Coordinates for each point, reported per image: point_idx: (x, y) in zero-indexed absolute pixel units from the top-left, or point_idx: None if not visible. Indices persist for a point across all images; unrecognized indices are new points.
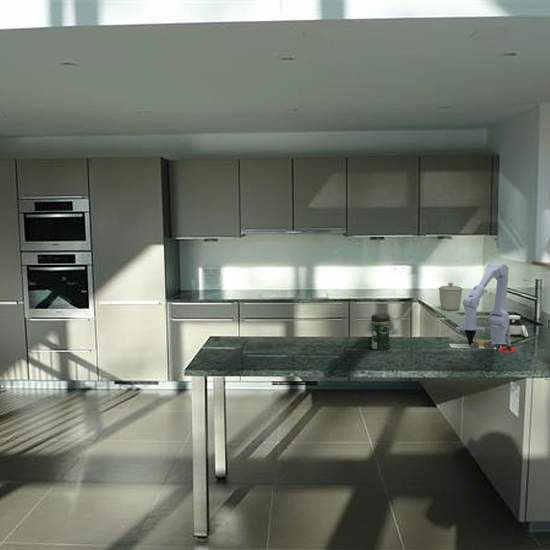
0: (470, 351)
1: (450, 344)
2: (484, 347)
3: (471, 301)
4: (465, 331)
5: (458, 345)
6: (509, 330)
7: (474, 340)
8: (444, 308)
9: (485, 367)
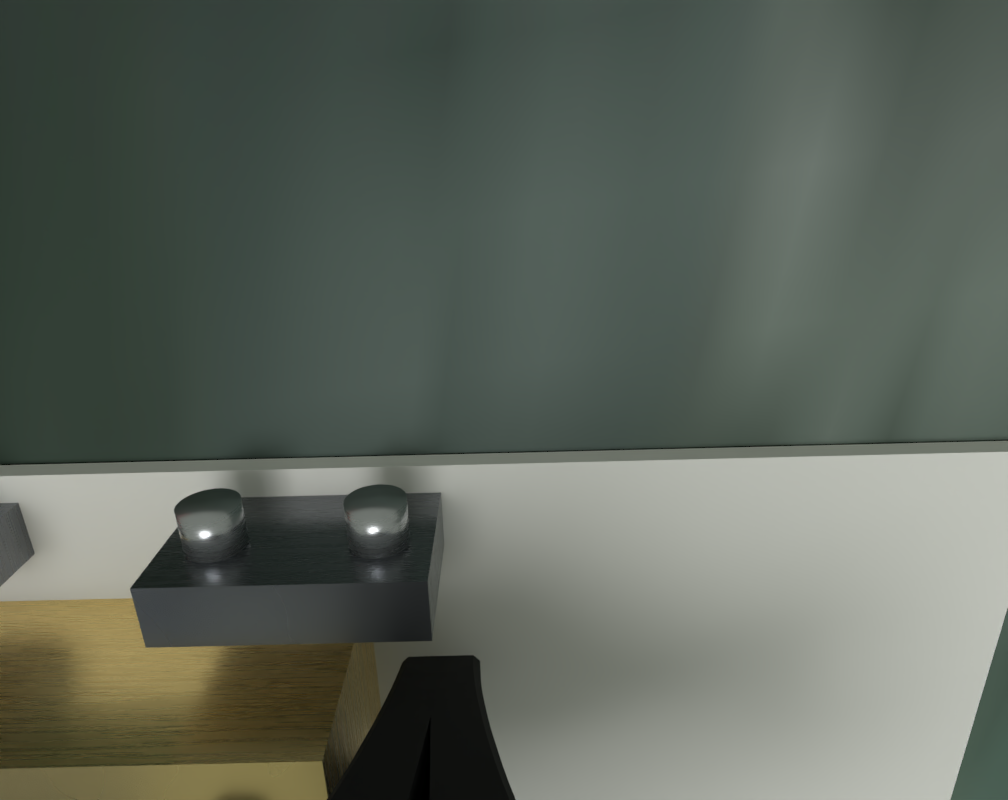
0: (512, 7)
1: (927, 783)
2: (25, 548)
3: None
4: None
5: (746, 709)
6: None
7: (269, 773)
8: None
9: None
